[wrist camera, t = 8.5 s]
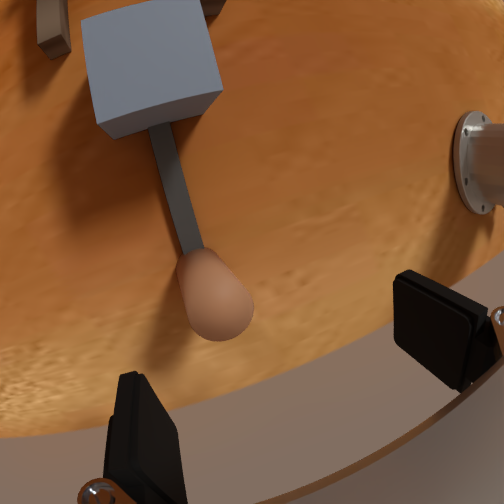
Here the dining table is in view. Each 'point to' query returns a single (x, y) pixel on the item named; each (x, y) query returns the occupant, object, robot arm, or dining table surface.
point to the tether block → (166, 131)
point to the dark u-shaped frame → (57, 25)
